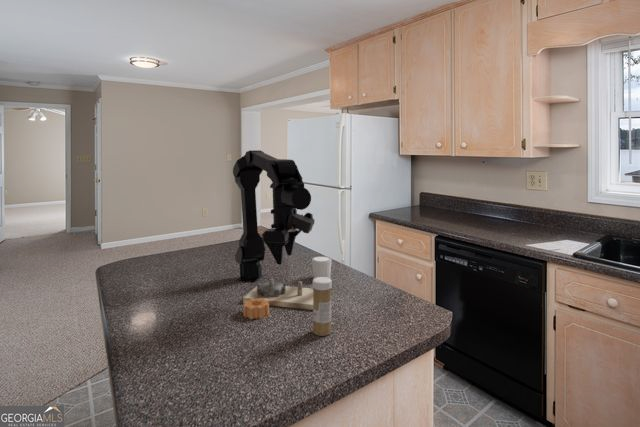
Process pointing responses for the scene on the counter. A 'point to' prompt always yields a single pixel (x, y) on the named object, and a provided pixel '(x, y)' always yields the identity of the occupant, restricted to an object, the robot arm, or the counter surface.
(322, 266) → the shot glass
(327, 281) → the sprinkles bottle
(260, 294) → the gear board
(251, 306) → the orange gear
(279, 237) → the robot arm
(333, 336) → the counter surface
